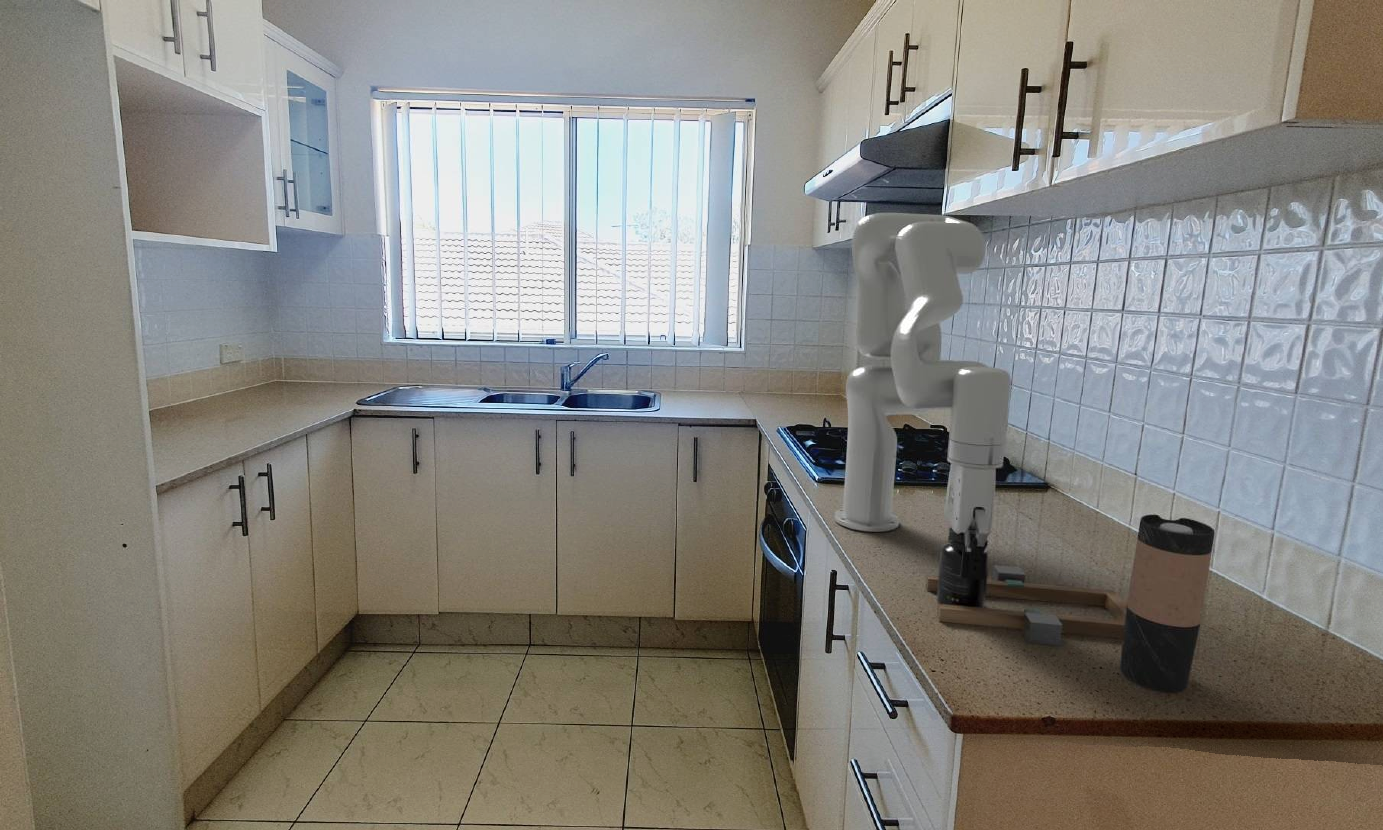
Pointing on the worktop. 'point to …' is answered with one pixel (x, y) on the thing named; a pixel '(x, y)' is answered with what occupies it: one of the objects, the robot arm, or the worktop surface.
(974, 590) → the supplement bottle
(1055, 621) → the pivot blocks
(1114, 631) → the walnut rails
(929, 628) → the worktop surface
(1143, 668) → the travel mug
